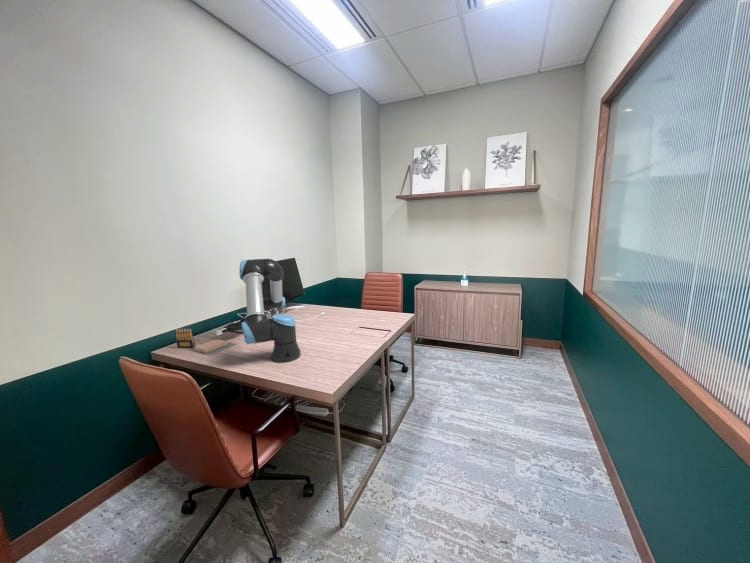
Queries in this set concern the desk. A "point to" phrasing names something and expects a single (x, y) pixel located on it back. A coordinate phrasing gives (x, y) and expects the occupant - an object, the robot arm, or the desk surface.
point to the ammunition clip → (184, 339)
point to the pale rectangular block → (210, 345)
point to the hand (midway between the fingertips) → (216, 333)
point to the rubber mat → (216, 349)
